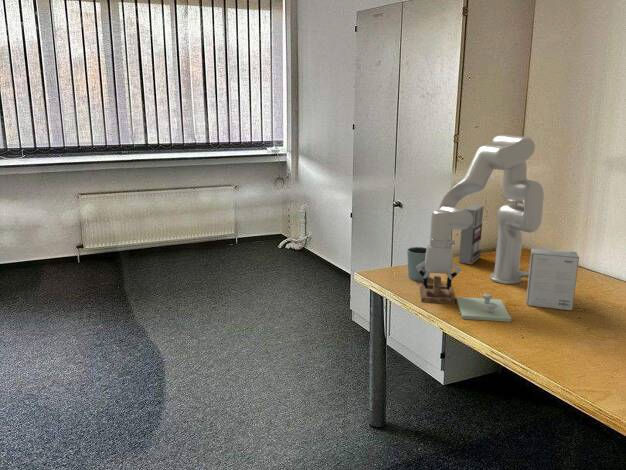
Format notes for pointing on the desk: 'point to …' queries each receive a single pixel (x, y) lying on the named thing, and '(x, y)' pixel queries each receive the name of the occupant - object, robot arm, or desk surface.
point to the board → (483, 308)
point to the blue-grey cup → (416, 262)
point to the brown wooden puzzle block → (436, 292)
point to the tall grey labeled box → (471, 236)
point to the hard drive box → (552, 279)
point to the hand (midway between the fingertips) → (436, 287)
